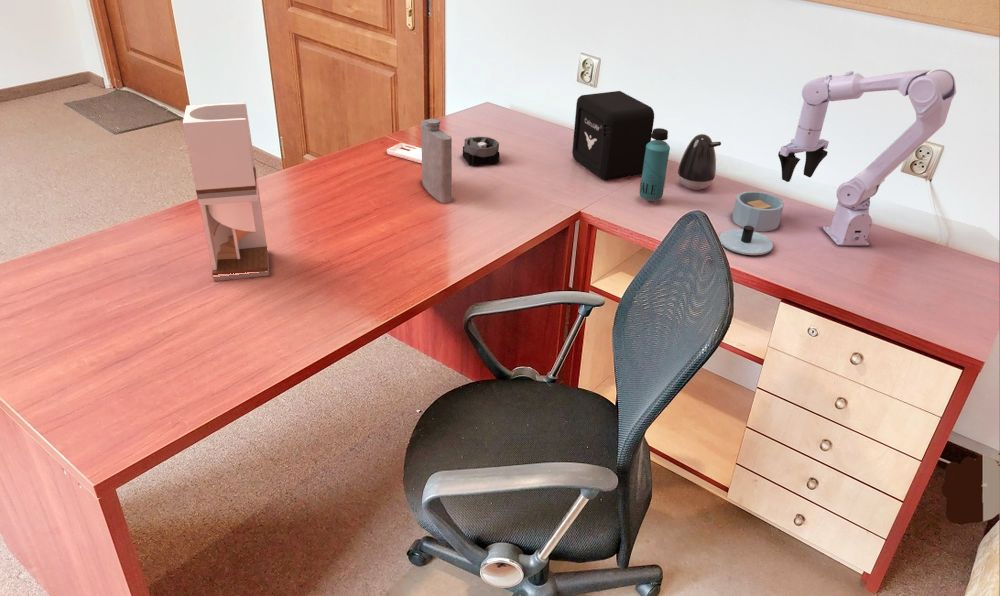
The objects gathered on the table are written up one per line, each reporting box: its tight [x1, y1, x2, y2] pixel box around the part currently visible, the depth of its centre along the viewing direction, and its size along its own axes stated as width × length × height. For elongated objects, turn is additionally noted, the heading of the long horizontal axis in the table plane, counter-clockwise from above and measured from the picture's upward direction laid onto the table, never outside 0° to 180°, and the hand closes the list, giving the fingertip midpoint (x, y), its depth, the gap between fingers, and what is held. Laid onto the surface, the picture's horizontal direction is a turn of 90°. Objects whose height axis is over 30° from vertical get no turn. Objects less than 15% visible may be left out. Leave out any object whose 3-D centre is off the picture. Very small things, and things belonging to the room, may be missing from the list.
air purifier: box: [571, 90, 655, 182], centre depth 219 cm, size 20×15×20 cm
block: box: [746, 200, 772, 209], centre depth 195 cm, size 4×4×4 cm
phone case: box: [386, 142, 422, 165], centre depth 227 cm, size 7×1×15 cm
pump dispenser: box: [677, 133, 722, 191], centre depth 210 cm, size 10×10×15 cm
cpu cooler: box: [462, 136, 500, 167], centre depth 224 cm, size 10×6×10 cm
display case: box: [182, 101, 270, 282], centre depth 159 cm, size 11×11×35 cm
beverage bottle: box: [639, 127, 671, 201], centre depth 200 cm, size 6×7×20 cm
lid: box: [718, 226, 774, 256], centre depth 184 cm, size 13×13×5 cm
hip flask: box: [420, 118, 453, 204], centre depth 200 cm, size 16×4×20 cm, turn 26°
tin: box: [731, 190, 785, 232], centre depth 195 cm, size 12×12×6 cm
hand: (796, 178), depth 195 cm, fingers open, 7 cm apart
